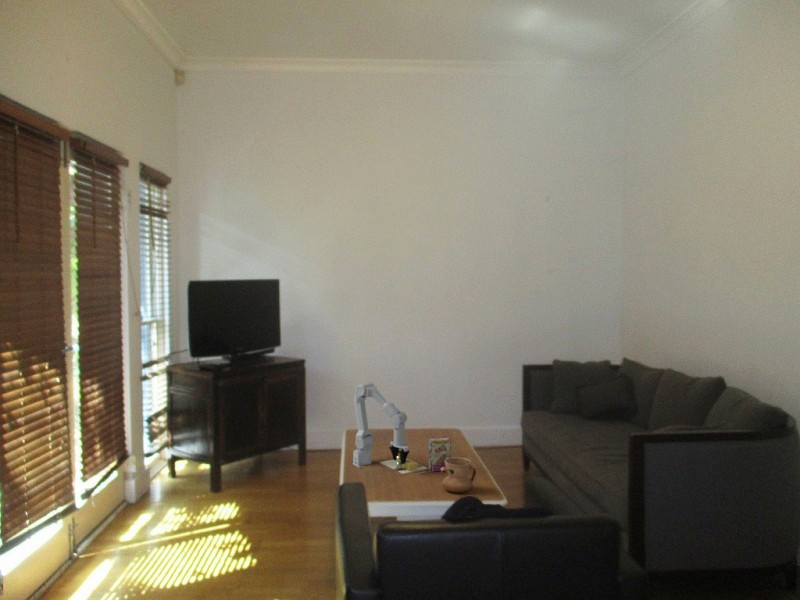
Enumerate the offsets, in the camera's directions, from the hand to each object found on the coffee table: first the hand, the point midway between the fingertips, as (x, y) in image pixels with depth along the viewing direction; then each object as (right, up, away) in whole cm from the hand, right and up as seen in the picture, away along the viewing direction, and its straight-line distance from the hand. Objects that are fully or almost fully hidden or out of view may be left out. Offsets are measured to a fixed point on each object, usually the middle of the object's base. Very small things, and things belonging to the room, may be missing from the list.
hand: (399, 461), depth 352 cm
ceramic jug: (+28, -7, -29) cm, 41 cm away
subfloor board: (+2, -5, +7) cm, 9 cm away
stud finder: (+5, -4, +3) cm, 7 cm away
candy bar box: (+21, -5, +1) cm, 22 cm away
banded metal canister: (0, -4, 0) cm, 4 cm away
